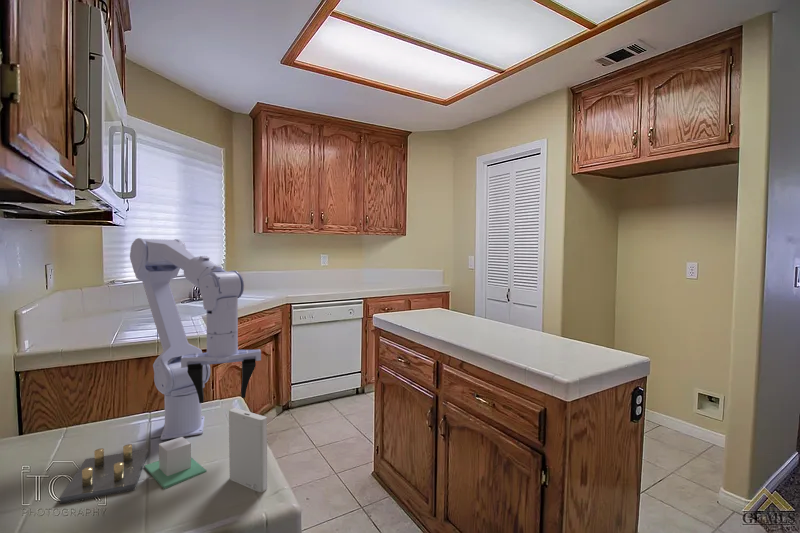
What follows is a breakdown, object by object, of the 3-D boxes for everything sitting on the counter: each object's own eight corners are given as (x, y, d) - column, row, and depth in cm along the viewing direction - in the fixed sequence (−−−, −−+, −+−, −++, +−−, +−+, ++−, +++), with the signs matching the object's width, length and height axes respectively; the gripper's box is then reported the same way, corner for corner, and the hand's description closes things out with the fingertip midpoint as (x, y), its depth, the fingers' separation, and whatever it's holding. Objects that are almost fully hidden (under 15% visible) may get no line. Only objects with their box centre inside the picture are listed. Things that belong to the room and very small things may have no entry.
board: (144, 469, 75) (144, 441, 75) (184, 455, 80) (184, 429, 80) (164, 491, 68) (163, 460, 68) (206, 474, 74) (206, 445, 73)
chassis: (85, 464, 76) (85, 445, 76) (148, 454, 80) (147, 436, 80) (60, 503, 64) (59, 482, 64) (134, 489, 68) (134, 469, 68)
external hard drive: (260, 494, 67) (260, 420, 67) (228, 480, 71) (227, 410, 71) (268, 489, 69) (268, 416, 68) (236, 475, 73) (235, 407, 72)
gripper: (179, 338, 75) (180, 411, 75) (262, 332, 80) (262, 400, 81) (182, 331, 81) (183, 398, 82) (259, 326, 87) (259, 389, 87)
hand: (222, 398), depth 82 cm, fingers open, 7 cm apart
